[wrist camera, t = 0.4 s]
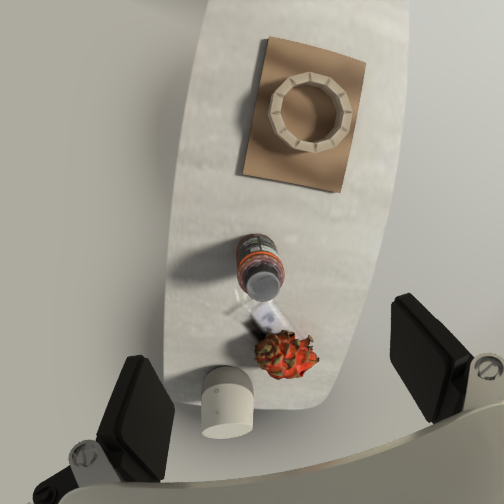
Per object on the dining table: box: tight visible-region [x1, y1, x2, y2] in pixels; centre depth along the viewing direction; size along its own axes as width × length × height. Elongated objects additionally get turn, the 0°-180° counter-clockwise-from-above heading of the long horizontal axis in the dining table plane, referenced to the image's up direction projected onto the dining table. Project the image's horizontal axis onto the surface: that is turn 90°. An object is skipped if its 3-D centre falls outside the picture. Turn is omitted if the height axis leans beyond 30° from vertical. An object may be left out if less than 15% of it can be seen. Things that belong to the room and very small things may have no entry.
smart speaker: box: [201, 366, 254, 439], centre depth 49 cm, size 10×9×14 cm
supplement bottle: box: [236, 234, 285, 302], centre depth 40 cm, size 6×6×11 cm
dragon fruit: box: [254, 330, 319, 380], centre depth 49 cm, size 8×8×12 cm
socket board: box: [243, 36, 366, 193], centre depth 37 cm, size 20×14×4 cm
